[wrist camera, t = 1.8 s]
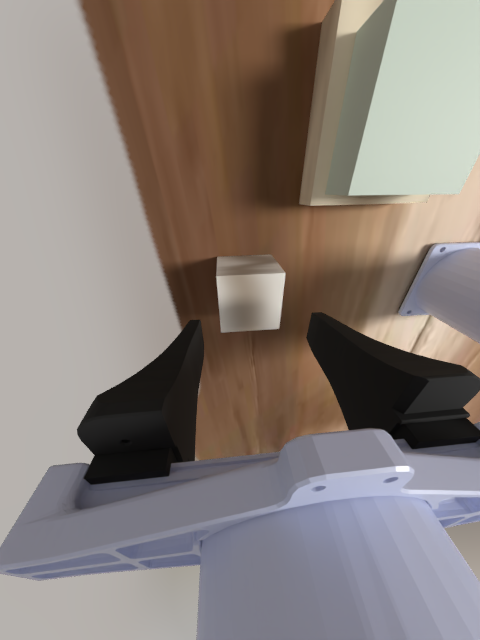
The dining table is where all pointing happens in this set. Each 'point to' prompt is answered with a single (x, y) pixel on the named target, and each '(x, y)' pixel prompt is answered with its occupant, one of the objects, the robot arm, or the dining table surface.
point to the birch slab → (336, 105)
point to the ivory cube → (249, 292)
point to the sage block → (410, 101)
